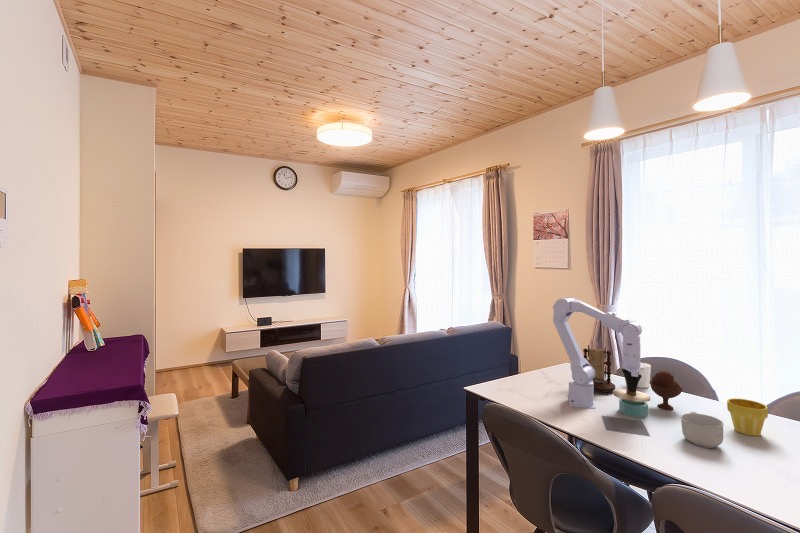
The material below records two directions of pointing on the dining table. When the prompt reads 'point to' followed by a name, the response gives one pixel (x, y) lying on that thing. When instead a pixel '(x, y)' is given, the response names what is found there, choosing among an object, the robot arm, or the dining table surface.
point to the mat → (625, 425)
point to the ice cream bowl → (665, 388)
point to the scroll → (600, 369)
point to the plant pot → (747, 415)
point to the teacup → (702, 429)
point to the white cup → (644, 376)
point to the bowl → (633, 408)
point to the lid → (631, 395)
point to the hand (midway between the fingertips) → (631, 390)
